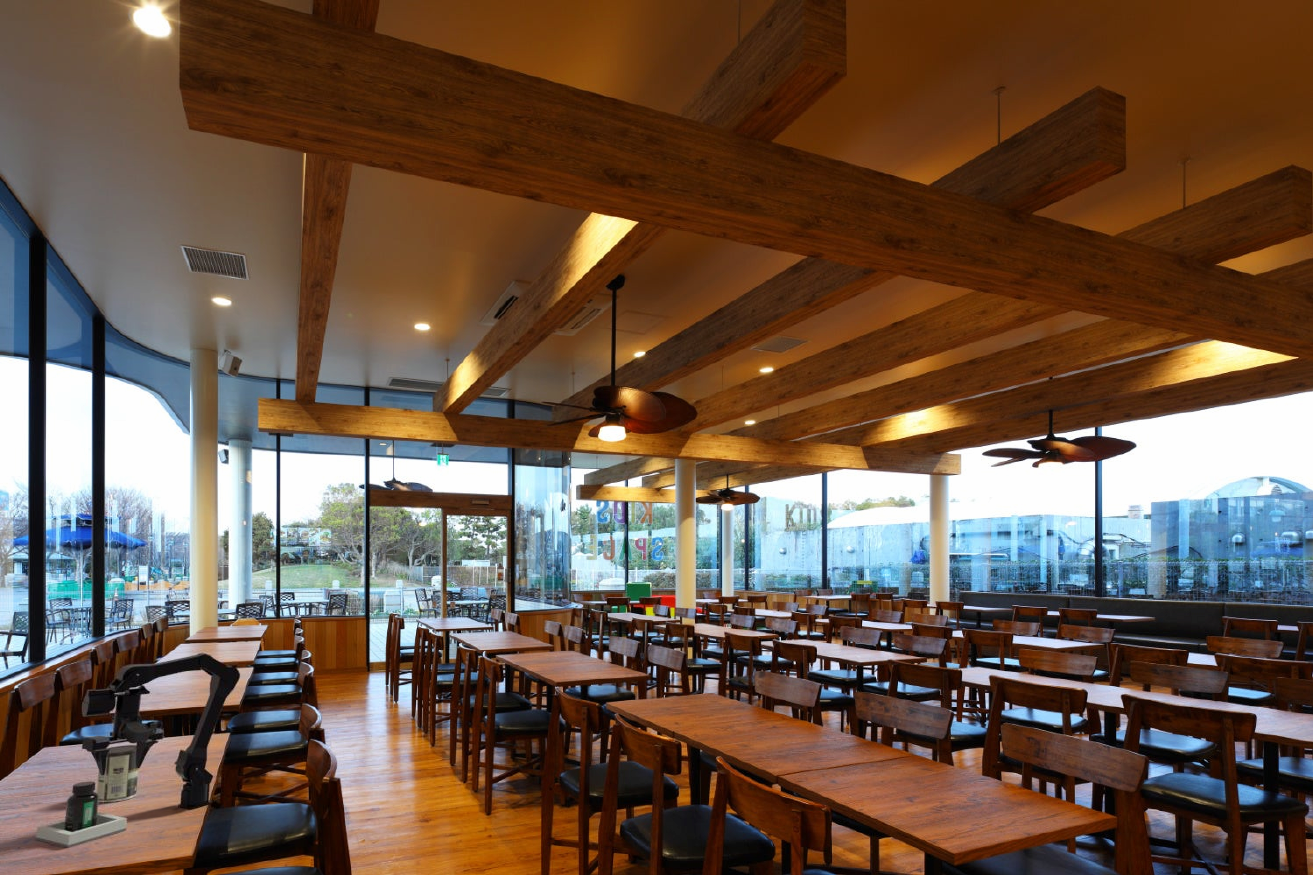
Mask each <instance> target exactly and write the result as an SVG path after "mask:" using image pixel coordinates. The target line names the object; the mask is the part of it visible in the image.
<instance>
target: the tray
mask: <svg viewBox="0 0 1313 875" xmlns="http://www.w3.org/2000/svg"><path fill="white" fill-rule="evenodd" d="M127 821H128V818H126V817H122V816H117V815H112V814H108V813H105V812H100V811H99V812H97V824H96V826H92V827H89V828H85V829H82V830H78V831H75V832H69V831H65V830H64V827H65V819H63V820H59V821H55V822H51V823H49V824H45V825H41V826H37V829H36V838H35V839H36V841H39V842H43V843H46V844H47V843H48V844H51V843H53V845H55V844H56V846H61V847H63V848H72V846H73V847H75V846H80V845H83V844H86V843H89V842H92V841H96V840H98V839H102V838H106V837H109V836H112V835H115V834H118V833H122V832H125V831H127Z"/></svg>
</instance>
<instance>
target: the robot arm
mask: <svg viewBox="0 0 1313 875" xmlns="http://www.w3.org/2000/svg"><path fill="white" fill-rule="evenodd" d="M198 669H201V670H203V672H205V673H206V674H207V675H209V676H210V682H209V696H208V699H207V701H206V704H205V705H204V706H205V707H204V709H203V711H202V714H201V717H200V720H199V721H198V724H197V727H196V729H195V732H194V735H193V736H192V740H191V742H190V744H189V745H188V747H187V748H186V749H185V750H184V749H180V750H179V752H178V757H177V759H176V761H175V762H174V765H176V766H175V769H174V770H175V772H176V774H177V775H178V776H179V777H180V778H181V780H182V782H183V783H184V784H183V785H182V790H181V791H180V792H181V793H180V803H179V804H177V807H179V808H184V809H188V810H193V809H197V808H201V807H203V806H207V805H210V804H212V803H213V801H212V800H210V787H211V783H212V781H213V778H214V775H213V774H212V773H211V772H209V771H208V770H207V769H206V767H207V761H208V746H209V745H210V742H211V738H212V736H213V734H214V731H215V728H216V725H217V723H218V720H219V718H220V714H221V712H222V710H223V707H224V704H225V702H226V699H227V698H228V696H229V695H230V694H232V692H233V691H234V689H235V687H236V686H237V685H238V682H239V680H240V679H241V678H240V677H241V672H240V671H239V669H238V668H236V667H235V666H231V665H226V664H225V663H222V662H221V661H219V660H218V659H215V658H214V657H212V655H211V654H209V653H204V652H200V653H197V654H195V655H191V656H185V657H181V658H176V659H171V660H166V661H161V662H157V663H142V664H141V663H139V664H138V663H137V664H126V665H124V666H122V667H121V668H120V669H119V670H118V672H117V673H116V677H115V678H114V680H113V681H112V682H111V683H110V684H109V685H108V686H107V687H106V688H105V689H86V693H85V696H84V698H83V701H82V704H81V713H82V716H83V717H84V718H85V717H92V716H93V717H94V716H95V717H96V716H104V715H109V714H110V713H111V712H113V711H114V710H115V711H114V716H111V719H110V720H111V721H113V727H112V731H110V732H109V736H110V737H109V736H104V735H94V736H89V737H85V738H84V740H83V741H82V744H81V750H86V752H88V753H91V755H92V757H93V759H94V761H95V762H96V766H97V768H98V772H99V771H100V774H101V775H105V770H106V759H107V754H108V752H109V750H110V749H107V748H109V746H110V745H113V744H114V745H115V744H121V743H126V742H128V743H129V744H135V745H136V768H138V770H139V769H140V768H141V767H142V764H143V762H144V760H145V758H146V756H147V754H148V752H149V751H150V749H151V748H152V747H153V746H154V745H155V744H158V743H159V740H164V734H165V732H164V730H163V728H158V727H157V726H158V723H157V722H156V721H155V720H154V721H153V720H151V721H148V722H144V723H143V717H142V715H140V710H141V709H140V708H141V700H142V695H149V694H151V693H150V692H151V691H150V690H148V689H147V687H146V686H145V684H149V683H151V682H152V681H154V680H157V679H159V678H161V677H167V676H171V675H175V674H179V673H180V674H181V673H185V672H188V671H193V670H198ZM209 801H211V803H210V802H209Z"/></svg>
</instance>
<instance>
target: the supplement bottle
mask: <svg viewBox="0 0 1313 875" xmlns="http://www.w3.org/2000/svg"><path fill="white" fill-rule="evenodd" d="M95 790H96V782H95V781H91V780H90V781H81V782H77V783H75V784H73V785H72V790H71V793H72V795H70V796H69V797H68V798H67V800H66V807H65V815H64V816H65V817H64V818H65V819H64V820H65V827H64V830H65V831H69V832H75V831H78V830H82V829H85V828H89V827H92V826H96V824H97V812H98V810H99V809H98V808H99V802H98V800H99V796H98V794H97V792H95Z"/></svg>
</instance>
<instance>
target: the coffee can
mask: <svg viewBox="0 0 1313 875" xmlns="http://www.w3.org/2000/svg"><path fill="white" fill-rule="evenodd" d="M106 749H110V750H109V752H108V754H107V759H106V770H105V775H101V774H100V771H99V770H98V775H97V788H96V793H97V794H98V796H99V800H98V803H99V802H103V803H102V804H107V803H106V802H111V803H117V802H116V801H119V802H123V801H126V800H130V799H133V798H135V797H136V796H137V790H138V775H139V769H138V768H136V744H133V745H132V744H131V745H129V744H128V745H126V744H125V745H118V746H113V747H112V746H111V747H107V748H106ZM104 802H105V803H104Z"/></svg>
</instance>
